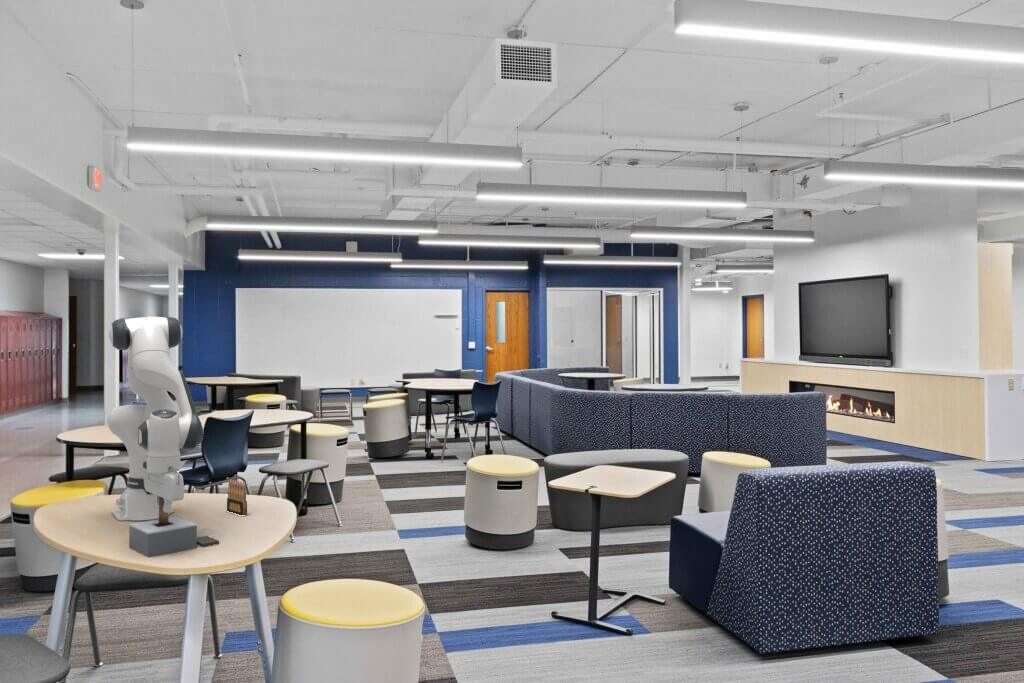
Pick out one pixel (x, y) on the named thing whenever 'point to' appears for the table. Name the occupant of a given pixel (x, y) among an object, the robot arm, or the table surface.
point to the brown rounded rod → (162, 513)
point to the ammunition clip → (237, 498)
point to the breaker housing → (162, 536)
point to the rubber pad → (206, 541)
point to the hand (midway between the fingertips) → (163, 510)
